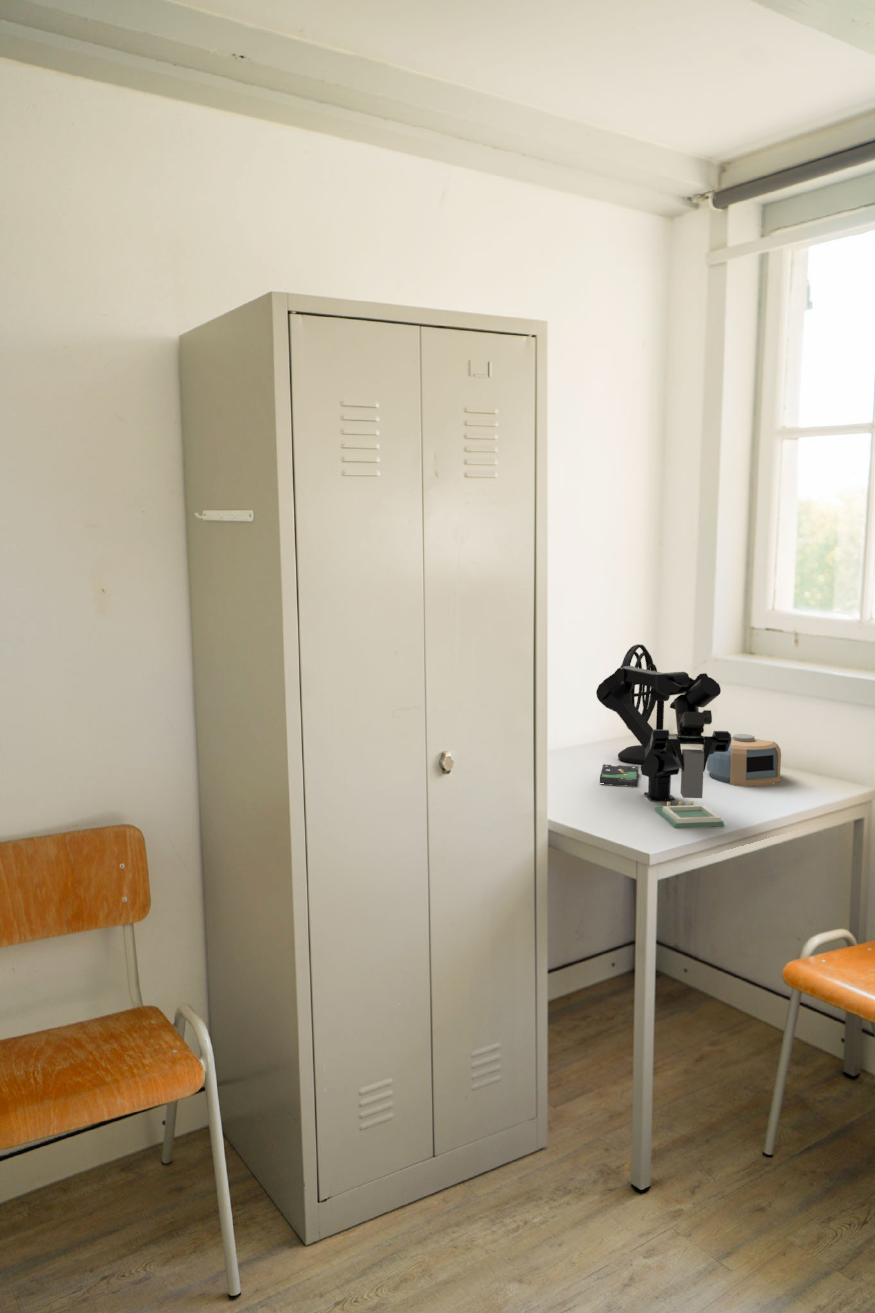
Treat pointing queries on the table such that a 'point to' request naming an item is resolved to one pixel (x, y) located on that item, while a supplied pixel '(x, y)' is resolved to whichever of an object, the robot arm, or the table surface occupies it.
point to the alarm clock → (747, 762)
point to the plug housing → (692, 773)
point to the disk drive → (619, 775)
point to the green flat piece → (689, 815)
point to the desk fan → (638, 751)
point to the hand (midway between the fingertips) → (693, 770)
